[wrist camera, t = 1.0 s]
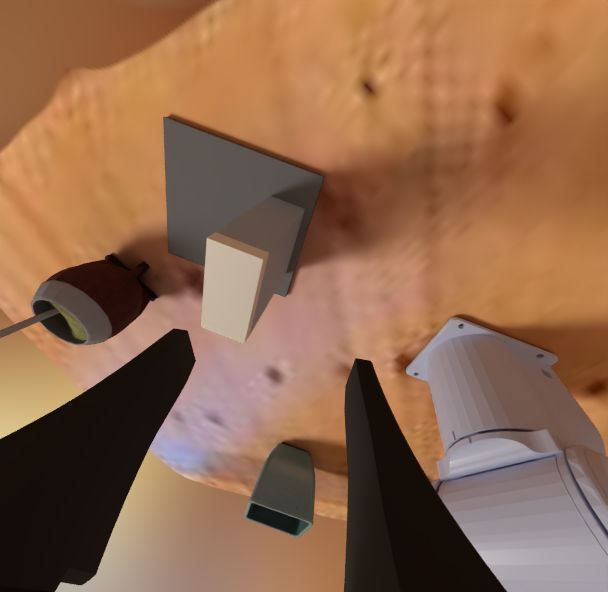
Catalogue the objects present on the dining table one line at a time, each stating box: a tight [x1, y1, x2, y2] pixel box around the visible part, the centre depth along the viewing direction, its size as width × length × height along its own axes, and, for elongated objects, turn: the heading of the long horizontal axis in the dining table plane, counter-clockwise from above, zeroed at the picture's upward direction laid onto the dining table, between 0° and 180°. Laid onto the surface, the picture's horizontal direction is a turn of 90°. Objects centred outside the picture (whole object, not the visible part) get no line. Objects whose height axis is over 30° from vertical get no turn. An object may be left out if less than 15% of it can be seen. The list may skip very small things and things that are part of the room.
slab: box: [201, 196, 305, 344], centre depth 17 cm, size 3×6×9 cm, turn 164°
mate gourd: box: [0, 254, 157, 345], centre depth 21 cm, size 8×8×15 cm
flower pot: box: [244, 443, 315, 537], centre depth 38 cm, size 9×9×9 cm
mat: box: [163, 117, 324, 297], centre depth 21 cm, size 12×11×1 cm
